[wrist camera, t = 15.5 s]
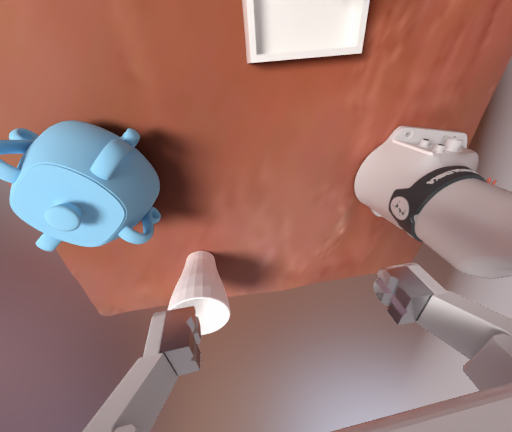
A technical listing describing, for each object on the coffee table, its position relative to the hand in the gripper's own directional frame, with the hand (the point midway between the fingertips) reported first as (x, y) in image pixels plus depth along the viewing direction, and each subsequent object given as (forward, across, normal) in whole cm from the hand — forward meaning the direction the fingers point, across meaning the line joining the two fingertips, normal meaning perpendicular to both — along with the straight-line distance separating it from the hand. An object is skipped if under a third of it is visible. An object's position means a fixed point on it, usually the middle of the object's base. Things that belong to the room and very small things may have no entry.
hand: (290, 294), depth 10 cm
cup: (+31, +10, +26) cm, 42 cm away
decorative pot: (+31, +20, +4) cm, 37 cm away
